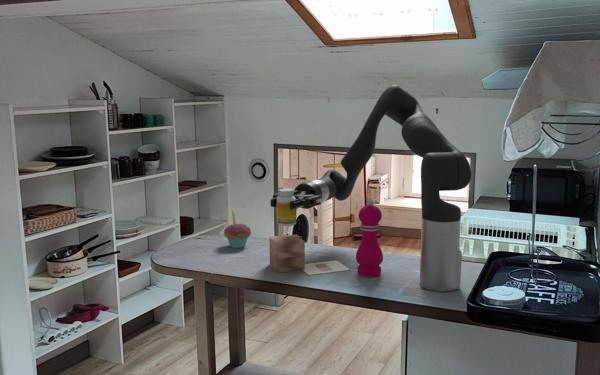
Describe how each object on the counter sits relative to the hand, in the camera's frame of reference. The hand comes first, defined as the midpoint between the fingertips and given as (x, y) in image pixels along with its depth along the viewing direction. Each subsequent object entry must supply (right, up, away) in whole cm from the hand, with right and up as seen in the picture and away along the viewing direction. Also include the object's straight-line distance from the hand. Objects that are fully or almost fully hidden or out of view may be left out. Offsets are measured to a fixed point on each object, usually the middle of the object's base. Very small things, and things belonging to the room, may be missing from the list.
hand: (281, 204), depth 149 cm
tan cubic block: (+1, -17, +5) cm, 18 cm away
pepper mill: (+23, -19, -1) cm, 30 cm away
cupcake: (-15, -14, +27) cm, 34 cm away
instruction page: (+11, -18, +4) cm, 21 cm away
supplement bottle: (+1, -6, +3) cm, 7 cm away
